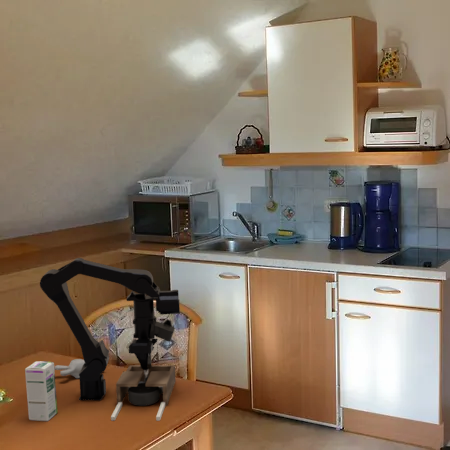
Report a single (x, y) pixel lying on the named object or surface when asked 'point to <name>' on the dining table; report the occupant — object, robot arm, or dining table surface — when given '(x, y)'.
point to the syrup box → (41, 391)
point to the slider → (147, 373)
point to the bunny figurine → (71, 368)
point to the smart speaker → (143, 395)
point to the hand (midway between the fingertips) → (146, 367)
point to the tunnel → (156, 378)
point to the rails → (121, 406)
